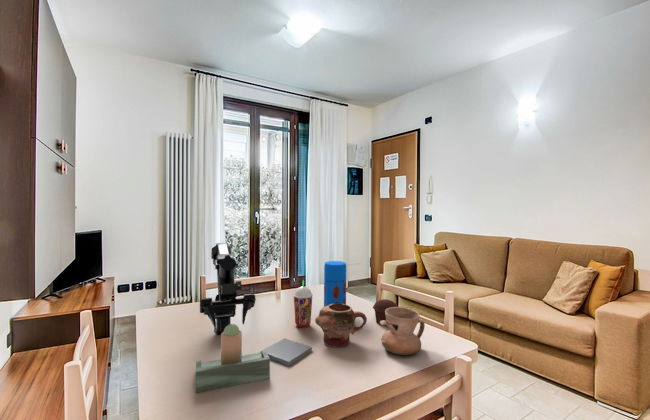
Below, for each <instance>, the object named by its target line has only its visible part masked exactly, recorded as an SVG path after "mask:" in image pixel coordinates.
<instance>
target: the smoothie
mask: <svg viewBox="0 0 650 420" xmlns="http://www.w3.org/2000/svg"><path fill="white" fill-rule="evenodd" d="M301 283H302V284H301V285H302V286H299V287H297V288H296V290H295V291H294V293H293V305H294V307H293V309H294V323H295V325H296V327H298V328H300V329H303V328H304V329H305V328H308V327H309V326H310V324H311V320H312V305H313V293H312V292H311V289H310V288H309V287H308V286H305V280H302V282H301Z"/></svg>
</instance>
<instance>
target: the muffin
mask: <svg viewBox="0 0 650 420" xmlns="http://www.w3.org/2000/svg"><path fill="white" fill-rule="evenodd" d="M391 307H399V306H398V304H396V302H394V300H391V299H386V298H385V299H384V298H383V299H379V300H377V301H376V302H375V303H374V304H373V307H372V309H373V310H374V313H375V314H374V315H375V316H374V317H375V323H376V324H377V325H380V326H382V325H381V324H380V321H383V320H385V321H386V316H385V310H386V309H388V308H391ZM383 326H384V327H388V326H387V325H383Z"/></svg>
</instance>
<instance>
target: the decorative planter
mask: <svg viewBox="0 0 650 420" xmlns="http://www.w3.org/2000/svg"><path fill="white" fill-rule="evenodd" d="M357 318H361V319H362V321H363V322H362V323H361V324H360V325H359V326H356V325H355V323H356V319H357ZM367 319H368V318H367V316H366V314H365V313H364V312H362V311H354V310H353V308H352V307H351V306H350V305H348V304H346V305H345V304H340V303H335V304H330V305H328V306H325V307H324V306H322V308H320V310H319V312H318V315H316V316H315V320H314V321H315V324H316V325H317V326H319V327H320V328H321V331H322V332H323V342H324V344H326V346H328V347H331V348H344V347H347V346H348V345H349V342H350V338H351V335H354V334H356V333H358V332H359V331H361V330H362V329H363V328H364V327H365V325H366V323H367Z"/></svg>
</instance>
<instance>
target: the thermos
mask: <svg viewBox="0 0 650 420" xmlns="http://www.w3.org/2000/svg"><path fill="white" fill-rule="evenodd" d="M323 270H324V271H323V274H324V275H323V307H325V306H328V305H330V304H335V303H340V304H345V305H347V263H346V262H345V261H340V260H330V261H325V262H324V266H323Z"/></svg>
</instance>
